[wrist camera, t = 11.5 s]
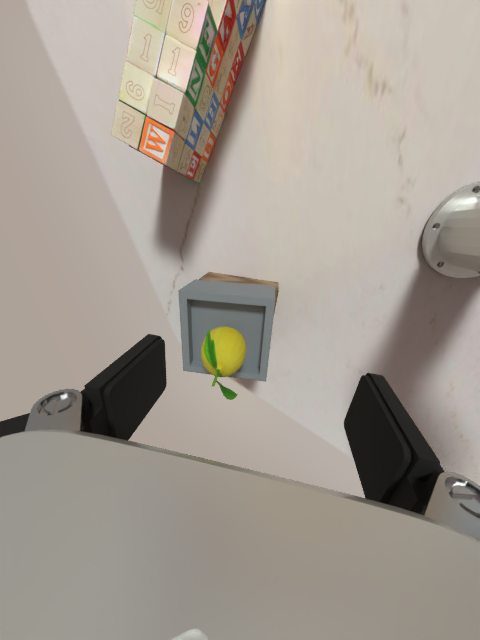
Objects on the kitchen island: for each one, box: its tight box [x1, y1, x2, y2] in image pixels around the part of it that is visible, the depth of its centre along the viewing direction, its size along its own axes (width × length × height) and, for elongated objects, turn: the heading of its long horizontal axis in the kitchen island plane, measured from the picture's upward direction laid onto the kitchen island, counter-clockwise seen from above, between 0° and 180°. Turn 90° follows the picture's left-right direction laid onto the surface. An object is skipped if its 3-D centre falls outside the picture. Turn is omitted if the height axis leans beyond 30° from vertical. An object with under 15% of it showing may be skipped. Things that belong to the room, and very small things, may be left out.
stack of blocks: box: [111, 0, 265, 183], centre depth 24 cm, size 21×6×12 cm, turn 153°
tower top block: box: [179, 280, 275, 381], centre depth 33 cm, size 12×12×6 cm
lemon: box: [201, 326, 246, 400], centre depth 27 cm, size 7×6×10 cm
